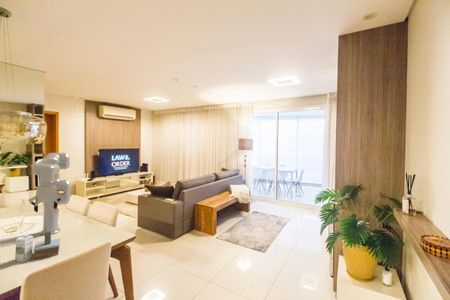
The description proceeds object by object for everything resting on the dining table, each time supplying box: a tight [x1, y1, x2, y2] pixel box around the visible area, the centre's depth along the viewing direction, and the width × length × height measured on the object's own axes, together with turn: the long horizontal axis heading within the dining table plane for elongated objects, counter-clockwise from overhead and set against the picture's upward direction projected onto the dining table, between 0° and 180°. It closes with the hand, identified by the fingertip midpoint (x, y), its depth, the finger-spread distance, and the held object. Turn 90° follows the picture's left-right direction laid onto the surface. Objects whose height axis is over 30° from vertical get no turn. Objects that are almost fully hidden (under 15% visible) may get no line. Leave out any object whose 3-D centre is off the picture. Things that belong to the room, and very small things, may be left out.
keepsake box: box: [33, 244, 61, 260], centre depth 139 cm, size 10×12×6 cm
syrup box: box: [14, 235, 34, 263], centre depth 131 cm, size 6×6×14 cm
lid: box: [32, 230, 61, 252], centre depth 139 cm, size 11×13×10 cm
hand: (45, 210), depth 137 cm, fingers open, 9 cm apart
